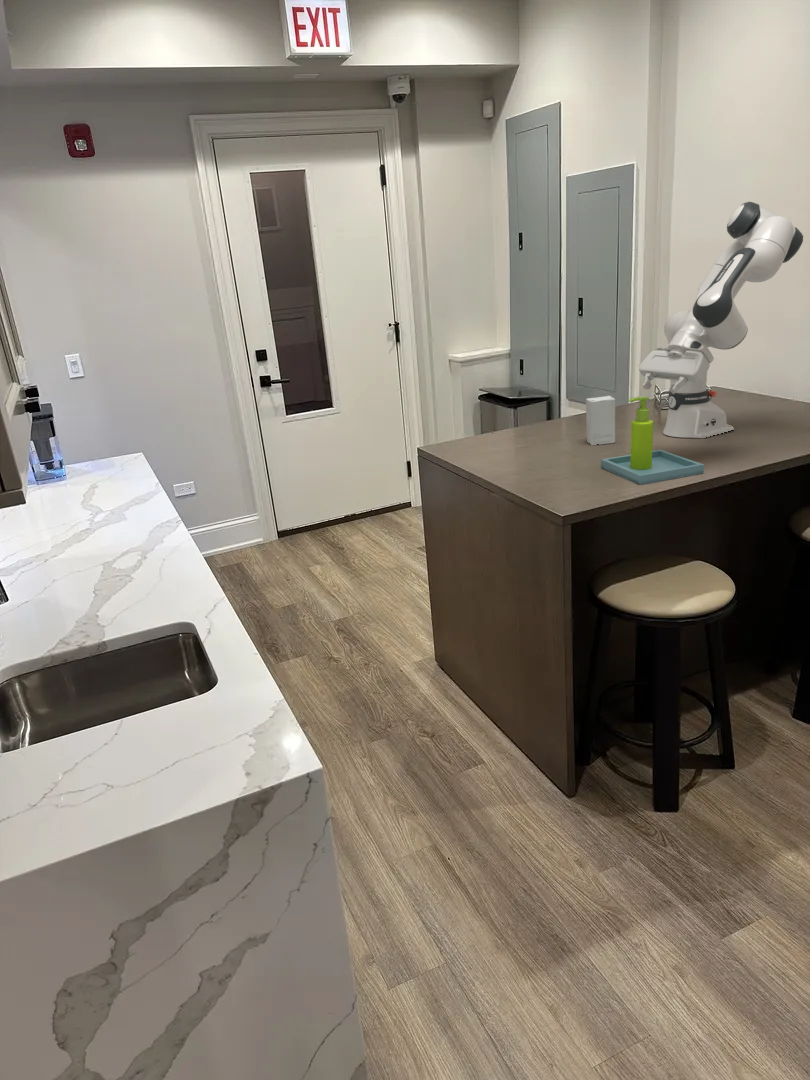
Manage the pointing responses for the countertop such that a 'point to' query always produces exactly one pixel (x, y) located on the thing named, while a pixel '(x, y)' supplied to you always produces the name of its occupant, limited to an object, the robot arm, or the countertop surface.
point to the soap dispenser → (641, 437)
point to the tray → (654, 467)
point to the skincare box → (600, 420)
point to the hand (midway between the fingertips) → (658, 389)
